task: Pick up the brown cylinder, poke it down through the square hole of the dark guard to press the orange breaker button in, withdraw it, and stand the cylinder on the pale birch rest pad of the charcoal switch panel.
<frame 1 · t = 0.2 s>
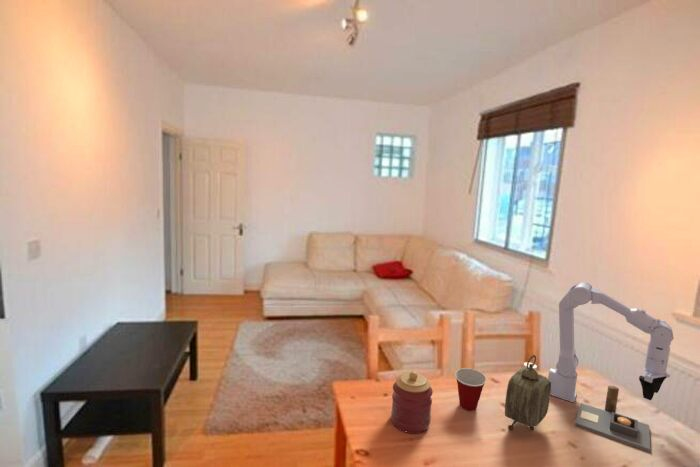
hand: (650, 395, 131), 10 cm above the table, tool pointing down, fingers open, 7 cm apart
tube: (526, 403, 141), on the table
breaker button: (624, 421, 126), point 3 cm above the table, slide at 0.0 cm
brown cylinder: (610, 411, 138), on the table
plastic cup: (467, 407, 137), on the table
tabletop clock: (525, 427, 127), on the table
switch panel: (611, 426, 129), on the table
canister: (410, 422, 128), on the table
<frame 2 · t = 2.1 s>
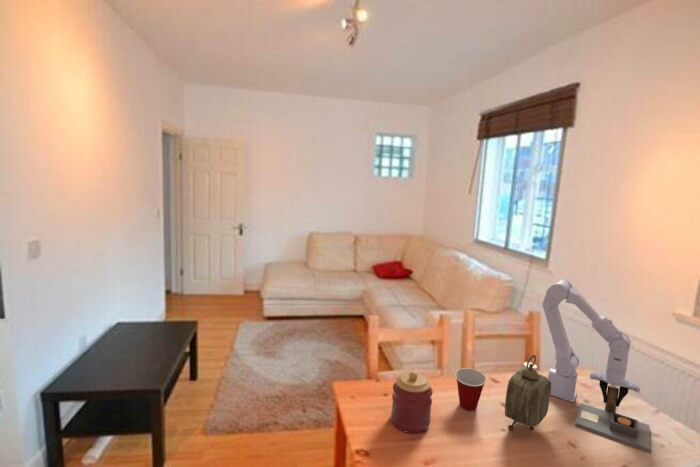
hand: (611, 403, 137), 3 cm above the table, tool pointing down, fingers closed on brown cylinder, 3 cm apart
brown cylinder: (610, 411, 138), on the table, touching gripper
everything else where it was.
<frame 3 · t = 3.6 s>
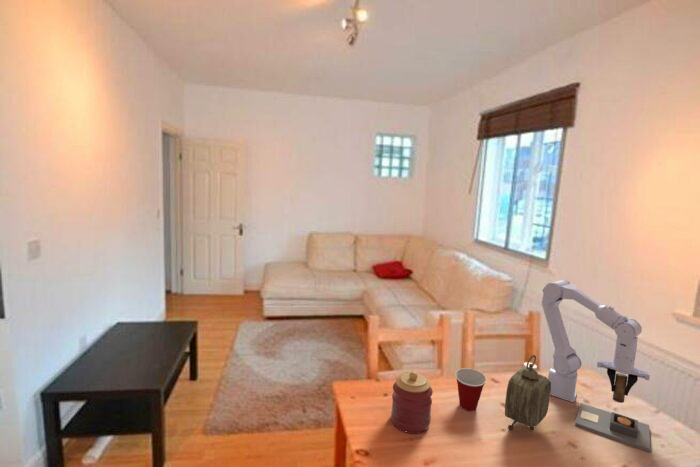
hand: (619, 392, 132), 10 cm above the table, tool pointing down, fingers closed on brown cylinder, 3 cm apart
brown cylinder: (618, 400, 132), point 7 cm above the table, touching gripper
everything else where it was.
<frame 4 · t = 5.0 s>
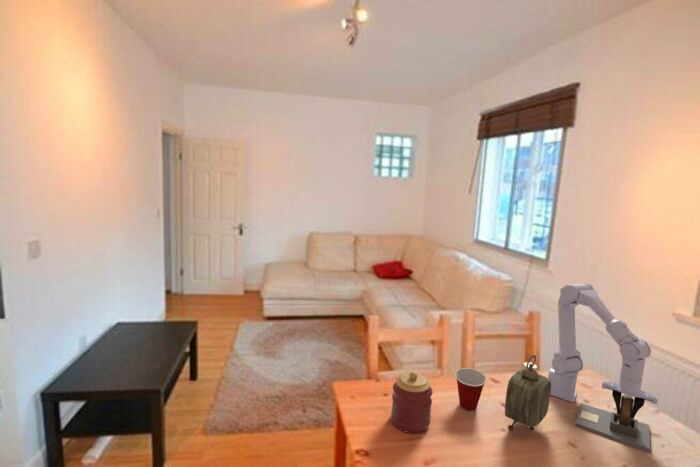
hand: (625, 415, 126), 6 cm above the table, tool pointing down, fingers closed on brown cylinder, 3 cm apart
breaker button: (623, 424, 126), point 2 cm above the table, slide at 1.1 cm, touching brown cylinder
brown cylinder: (623, 423, 126), point 3 cm above the table, touching breaker button, gripper
everything else where it was.
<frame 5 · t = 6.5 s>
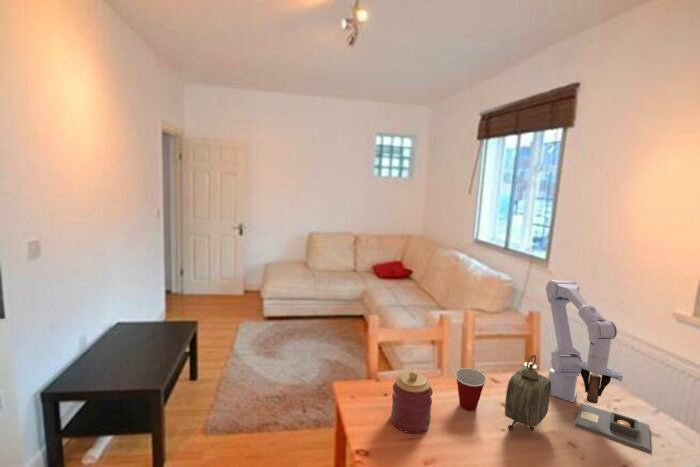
hand: (593, 393, 131), 10 cm above the table, tool pointing down, fingers closed on brown cylinder, 3 cm apart
breaker button: (623, 424, 126), point 2 cm above the table, slide at 1.1 cm
brown cylinder: (591, 400, 131), point 7 cm above the table, touching gripper
everything else where it was.
when the fingers open (5 cm above the table, at t = 7.9 s): brown cylinder drops 1 cm, resting on switch panel.
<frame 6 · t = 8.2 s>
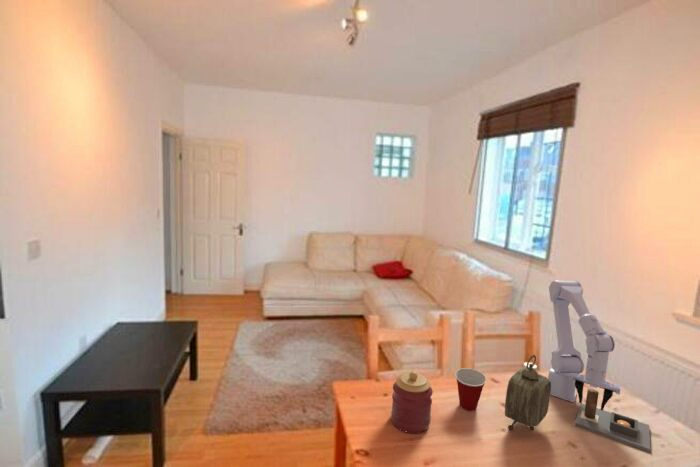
hand: (591, 405, 131), 5 cm above the table, tool pointing down, fingers open, 6 cm apart
brown cylinder: (589, 416, 132), point 1 cm above the table, touching switch panel
everything else where it was.
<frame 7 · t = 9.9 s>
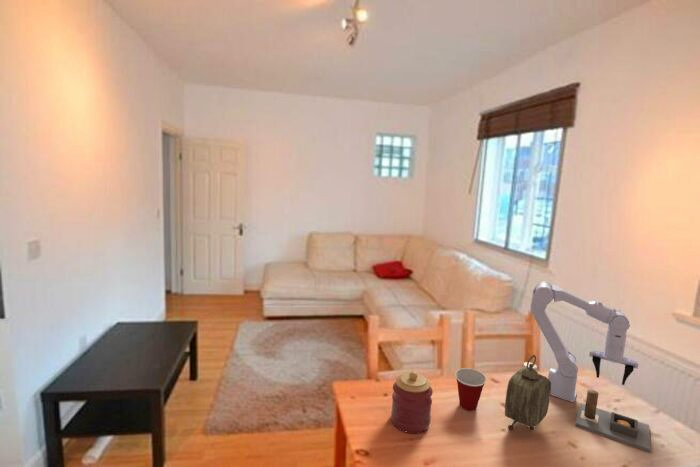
hand: (610, 380, 140), 10 cm above the table, tool pointing down, fingers open, 7 cm apart
nothing on the table moved.
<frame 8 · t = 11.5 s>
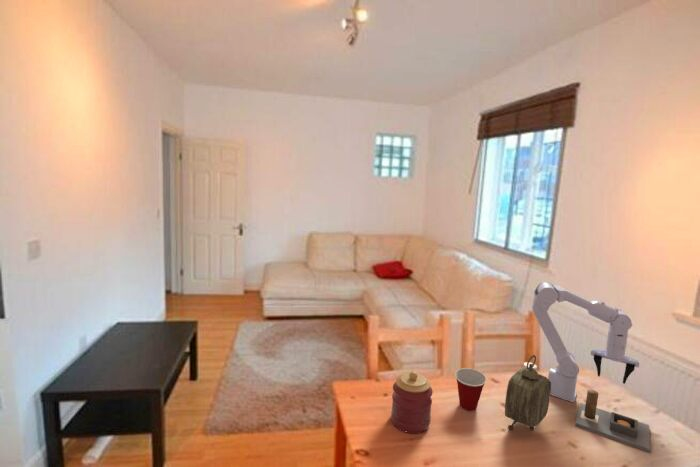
hand: (611, 378, 141), 10 cm above the table, tool pointing down, fingers open, 7 cm apart
nothing on the table moved.
at the end: breaker button slide at 1.1 cm; brown cylinder 0.0 cm from the target spot, point 1.2 cm above the table; brown cylinder tilted 0° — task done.
